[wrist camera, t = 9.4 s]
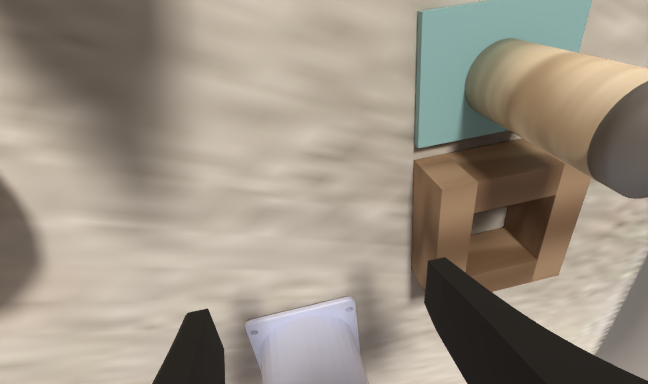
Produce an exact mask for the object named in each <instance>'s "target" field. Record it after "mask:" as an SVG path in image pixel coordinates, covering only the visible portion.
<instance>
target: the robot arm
mask: <svg viewBox="0 0 648 384" xmlns="http://www.w3.org/2000/svg"><path fill="white" fill-rule="evenodd" d="M424 303H425V305H426V308H427V310H428V313H429V315H430V317H431V320H432V322H433V324H434V326H435V328H436V331H437V332H438V334H439V336H440V338H441V339H442V341H443V343H444V345H445V346H446V348H447V350H448V352H449V353H450V355H451V357H452V358H453V360H454V362H455V363H456V365H457V367H458V368H459V370H460V372H461V374H462V375H463V377H464V379H465V380H466V382H467V384H648V381H647V380H644V379H642V378H640V377H638V376H635V375H633V374H631V373H629V372H627V371H625V370H623V369H620V368H618V367H616V366H614V365H612V364H610V363H608V362H606V361H604V360H602V359H600V358H598V357H596V356H594V355H592V354H590V353H588V352H587V351H585V350H583V349H581V348H579V347H577V346H575V345H574V344H572V343H570V342H568V341H567V340H565V339H563V338H561V337H560V336H558V335H556V334H554V333H553V332H551V331H549V330H547V329H546V328H544V327H543V326H541V325H539V324H538V323H536V322H535V321H533V320H531V319H530V318H528V317H527V316H525V315H524V314H522V313H521V312H519V311H518V310H516V309H515V308H513V307H512V306H510V305H509V304H508V303H506V302H505V301H503V300H502V299H500V298H499V297H498V296H496V295H495V294H493V293H492V292H491V291H489V290H488V289H487V288H485V287H484V286H483V285H481V284H480V283H479V282H477V281H476V280H475V279H473V278H472V277H471V276H469V275H468V274H467V273H465V272H464V271H463V270H462V269H460V268H459V267H458V266H456V265H455V264H454V263H452V262H451V261H450V260H448V259H447V258H446V257H443V258H438V259H434V260H429V261H428V265H427V277H426V289H425V301H424ZM348 307H349V308H348ZM245 329H246V332H247V335H248V338H249V340H250V343H251V346H252V349H253V351H254V354H255V357H256V360H257V362H258V365H259V368H260V371H261V373H262V384H369V382H368V379H367V376H366V373H365V370H364V366H363V363H362V360H361V356H360V346H359V336H358V326H357V315H356V305H355V301H354V298H353V297H350V296H348V297H343V298H339V299H335V300H331V301H327V302H322V303H318V304H314V305H310V306H306V307H301V308H297V309H293V310H289V311H285V312H280V313H276V314H272V315H268V316H264V317H259V318H255V319H251V320H249V321H247V322H246V324H245ZM152 384H225V363H224V348H223V345H222V343H221V340H220V338H219V335H218V333H217V330H216V328H215V325H214V322H213V320H212V317H211V315H210V312H209V310H208V309H204V310H199V311H194V312H190V313H187V315H186V316H185V318H184V320H183V322H182V325H181V327H180V329H179V331H178V333H177V336H176V338H175V340H174V342H173V344H172V346H171V348H170V350H169V352H168V354H167V356H166V358H165V360H164V362H163V364H162V366H161V368H160V370H159V372H158V374H157V375H156V377H155V379H154V381H153V383H152Z"/></svg>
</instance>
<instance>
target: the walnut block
mask: <svg viewBox="0 0 648 384" xmlns="http://www.w3.org/2000/svg"><path fill="white" fill-rule="evenodd" d="M590 180H591V177H590V176H588V175H586V174H584V173H583V172H581V171H579V170H577V169H576V168H574V167H572V166H570V165H569V164H567V163H565V162H563V161H562V160H560V159H558V158H556V157H555V156H553V155H551V154H549V153H548V152H546V151H544V150H542V149H541V148H539V147H537V146H535V145H534V144H532V143H530V142H528V141H527V140H525V139H523V138H522V139H517V140H512V141H507V142H502V143H497V144H492V145H487V146H482V147H477V148H472V149H467V150H462V151H457V152H452V153H447V154H442V155H437V156H432V157H427V158H422V159H417V160H414V187H413V225H412V263H411V269H412V271H413V273H414V274H415V276H416V278H417V280H418V281H419V283H420V285H421V287H422V288H423V290H424V292H425V289H426V277H427V265H428V261H429V260H434V259H438V258H443V257H446V258H447V259H448V260H450V261H451V262H452V263H454V264H455V265H456V266H458V267H459V268H460V269H462V270H463V271H464V272H465V273H467V274H468V275H469V276H471V277H472V278H473V279H475V280H476V281H477V282H479V283H480V284H481V285H483V286H484V287H485V288H487V289H488V290H489V291H491V292H493V291H497V290H501V289H505V288H509V287H513V286H517V285H521V284H525V283H529V282H533V281H537V280H541V279H545V278H549V277H553V276H557V275H559V272H560V269H561V266H562V263H563V260H564V257H565V254H566V251H567V248H568V245H569V242H570V239H571V236H572V233H573V230H574V228H575V225H576V222H577V219H578V216H579V213H580V210H581V207H582V204H583V201H584V198H585V195H586V192H587V189H588V186H589V183H590ZM504 206H508V209H507V214H506V219H505V224H504V228H499V229H495V230H491V231H486V232H482V233H477V234H473V235H471V230H472V222H473V215H474V213H477V212H481V211H486V210H490V209H495V208H499V207H504Z"/></svg>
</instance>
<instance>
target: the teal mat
mask: <svg viewBox="0 0 648 384" xmlns="http://www.w3.org/2000/svg"><path fill="white" fill-rule="evenodd" d="M591 3H592V0H488V1H481V2H475V3H468V4H462V5H455V6H449V7H442V8H436V9H429V10H423V11H418V34H417V72H416V110H415V146H416V147H417V148H423V147H428V146H433V145H438V144H443V143H448V142H453V141H458V140H463V139H468V138H473V137H478V136H484V135H489V134H494V133H499V132H504V131H509V130H507V129H506V128H504V127H502V126H500V125H499V124H497V123H495V122H493V121H492V120H490V119H488V118H486V117H485V116H483V115H481V114H479V113H478V112H476V111H475V110H473V109H472V108H471V107H470V105H469V104H468V102H467V99H466V95H465V82H466V77H467V74H468V71H469V69H470V67H471V65H472V63H473V62H474V60H475V59H476V58H477V56H478V55H479V54H480V53H481V52H482V51H483V50H484V49H485V48H487V47H488V46H489V45H491V44H493V43H495V42H497V41H499V40H502V39H507V38H515V39H519V40H524V41H528V42H533V43H537V44H541V45H546V46H550V47H555V48H559V49H564V50H568V51H572V52H577V53H579V49H580V45H581V41H582V38H583V34H584V30H585V26H586V22H587V18H588V14H589V10H590V7H591Z"/></svg>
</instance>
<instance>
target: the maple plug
mask: <svg viewBox="0 0 648 384" xmlns="http://www.w3.org/2000/svg"><path fill="white" fill-rule="evenodd" d="M465 95H466V99H467V102H468V104H469V105H470V107H471V108H472V109H473V110H475V111H476V112H478V113H479V114H481V115H483V116H485V117H486V118H488V119H490V120H492V121H493V122H495V123H497V124H499V125H500V126H502V127H504V128H506V129H507V130H509V131H511V132H513V133H514V134H516V135H518V136H520V137H521V138H523V139H525V140H527V141H528V142H530V143H532V144H534V145H535V146H537V147H539V148H541V149H542V150H544V151H546V152H548V153H549V154H551V155H553V156H555V157H556V158H558V159H560V160H562V161H563V162H565V163H567V164H569V165H570V166H572V167H574V168H576V169H577V170H579V171H581V172H583V173H584V174H586V175H588V176H590V177H591V178H593V179H595V180H597V181H598V182H600V183H602V184H604V185H605V186H607V187H609V188H611V189H612V190H614V191H616V192H618V193H619V194H621V195H623V196H625V197H628V198H635V199H636V198H645V197H648V68H643V67H639V66H634V65H630V64H626V63H621V62H617V61H612V60H608V59H603V58H599V57H595V56H590V55H586V54H581V53H577V52H572V51H568V50H564V49H559V48H555V47H550V46H546V45H541V44H537V43H533V42H528V41H524V40H519V39H515V38H507V39H502V40H499V41H497V42H495V43H493V44H491V45H489V46H488V47H487V48H485V49H484V50H483V51H482V52H481V53H480V54H479V55H478V56H477V58H476V59H475V60H474V62H473V63H472V65H471V67H470V69H469V71H468V74H467V77H466V82H465Z"/></svg>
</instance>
